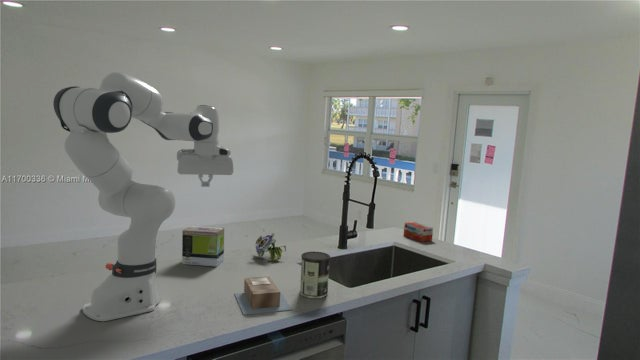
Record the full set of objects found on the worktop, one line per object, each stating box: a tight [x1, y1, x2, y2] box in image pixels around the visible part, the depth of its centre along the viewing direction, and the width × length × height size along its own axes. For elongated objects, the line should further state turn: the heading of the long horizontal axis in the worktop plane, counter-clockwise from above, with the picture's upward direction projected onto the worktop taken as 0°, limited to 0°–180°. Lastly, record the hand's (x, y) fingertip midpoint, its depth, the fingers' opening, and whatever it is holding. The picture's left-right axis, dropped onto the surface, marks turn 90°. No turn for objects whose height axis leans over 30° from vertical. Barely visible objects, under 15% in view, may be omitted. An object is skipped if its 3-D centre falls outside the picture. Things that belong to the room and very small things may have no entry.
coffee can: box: [299, 251, 331, 299], centre depth 157 cm, size 10×10×14 cm
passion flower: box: [255, 233, 287, 263], centre depth 196 cm, size 13×12×14 cm
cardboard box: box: [243, 276, 281, 309], centre depth 149 cm, size 9×5×15 cm
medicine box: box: [403, 221, 434, 243], centre depth 246 cm, size 15×8×8 cm, turn 32°
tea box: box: [181, 225, 225, 267], centre depth 184 cm, size 15×10×15 cm, turn 84°
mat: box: [234, 291, 293, 316], centre depth 147 cm, size 17×16×1 cm
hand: (205, 186), depth 164 cm, fingers closed
